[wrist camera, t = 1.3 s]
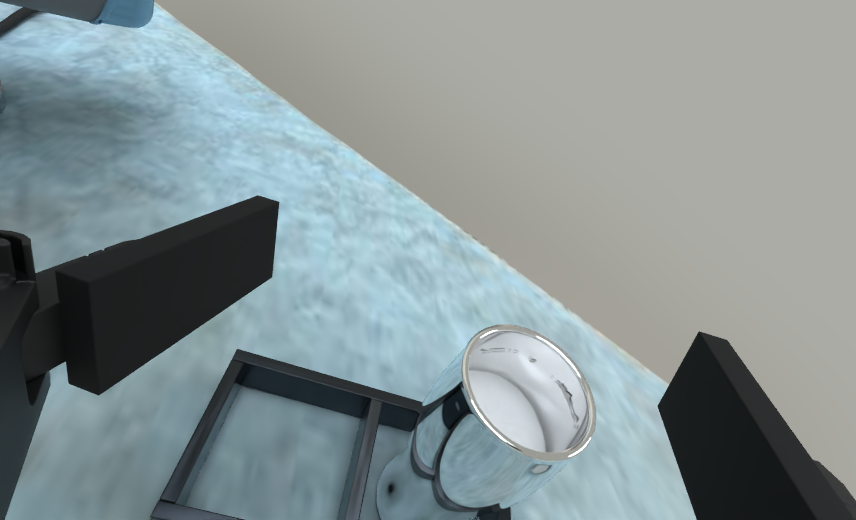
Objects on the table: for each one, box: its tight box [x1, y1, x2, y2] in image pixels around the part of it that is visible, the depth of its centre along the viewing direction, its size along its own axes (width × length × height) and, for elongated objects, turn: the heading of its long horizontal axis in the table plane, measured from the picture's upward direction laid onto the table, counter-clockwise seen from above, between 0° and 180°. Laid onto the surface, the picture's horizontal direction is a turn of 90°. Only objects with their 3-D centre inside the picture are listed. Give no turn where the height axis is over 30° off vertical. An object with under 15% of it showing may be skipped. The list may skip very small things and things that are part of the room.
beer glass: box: [376, 325, 596, 520], centre depth 25 cm, size 7×7×15 cm
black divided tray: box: [151, 349, 511, 520], centre depth 28 cm, size 10×19×3 cm, turn 83°
